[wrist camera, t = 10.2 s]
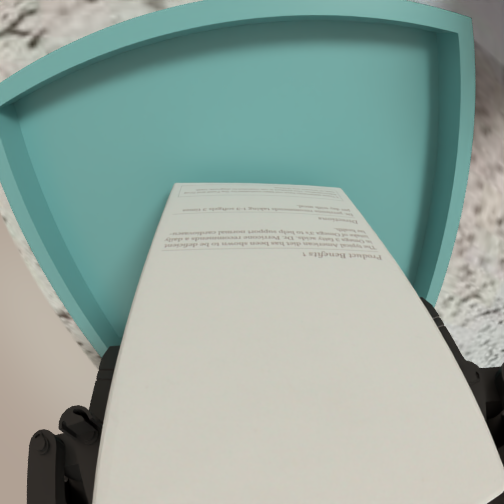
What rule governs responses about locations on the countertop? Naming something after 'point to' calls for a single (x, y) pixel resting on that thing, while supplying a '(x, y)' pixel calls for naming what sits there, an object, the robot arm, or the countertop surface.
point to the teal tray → (238, 132)
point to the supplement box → (285, 365)
